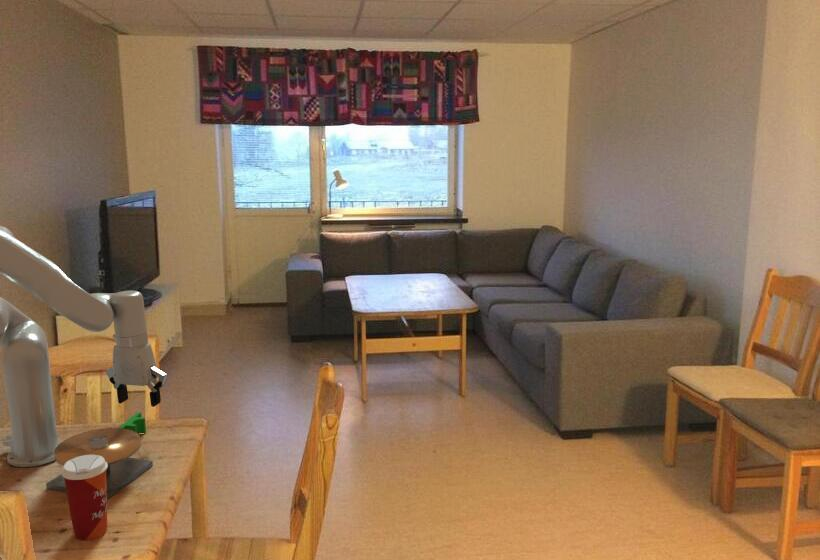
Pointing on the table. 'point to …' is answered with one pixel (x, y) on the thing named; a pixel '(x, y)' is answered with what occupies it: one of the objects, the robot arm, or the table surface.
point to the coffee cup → (87, 495)
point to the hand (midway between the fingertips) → (139, 403)
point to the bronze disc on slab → (104, 456)
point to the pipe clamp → (135, 424)
